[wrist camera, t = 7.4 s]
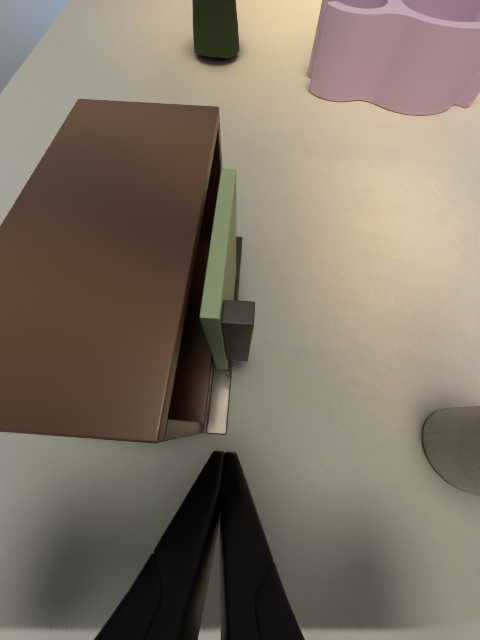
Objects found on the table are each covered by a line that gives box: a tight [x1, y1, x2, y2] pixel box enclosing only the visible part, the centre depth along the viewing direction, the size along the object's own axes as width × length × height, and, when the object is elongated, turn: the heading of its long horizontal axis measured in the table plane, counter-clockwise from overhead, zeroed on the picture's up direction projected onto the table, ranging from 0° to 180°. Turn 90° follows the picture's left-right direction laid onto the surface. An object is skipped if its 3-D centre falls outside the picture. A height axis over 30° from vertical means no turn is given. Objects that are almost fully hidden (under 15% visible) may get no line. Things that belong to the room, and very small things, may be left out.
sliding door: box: [199, 169, 255, 370], centre depth 13 cm, size 8×2×8 cm, turn 176°
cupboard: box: [0, 99, 242, 443], centre depth 14 cm, size 15×9×10 cm, turn 176°
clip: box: [307, 0, 480, 115], centre depth 28 cm, size 20×12×7 cm, turn 86°
